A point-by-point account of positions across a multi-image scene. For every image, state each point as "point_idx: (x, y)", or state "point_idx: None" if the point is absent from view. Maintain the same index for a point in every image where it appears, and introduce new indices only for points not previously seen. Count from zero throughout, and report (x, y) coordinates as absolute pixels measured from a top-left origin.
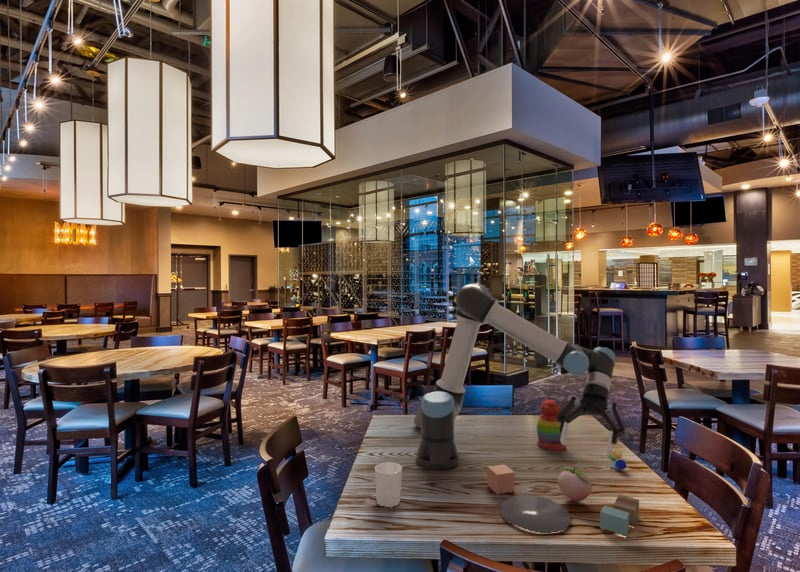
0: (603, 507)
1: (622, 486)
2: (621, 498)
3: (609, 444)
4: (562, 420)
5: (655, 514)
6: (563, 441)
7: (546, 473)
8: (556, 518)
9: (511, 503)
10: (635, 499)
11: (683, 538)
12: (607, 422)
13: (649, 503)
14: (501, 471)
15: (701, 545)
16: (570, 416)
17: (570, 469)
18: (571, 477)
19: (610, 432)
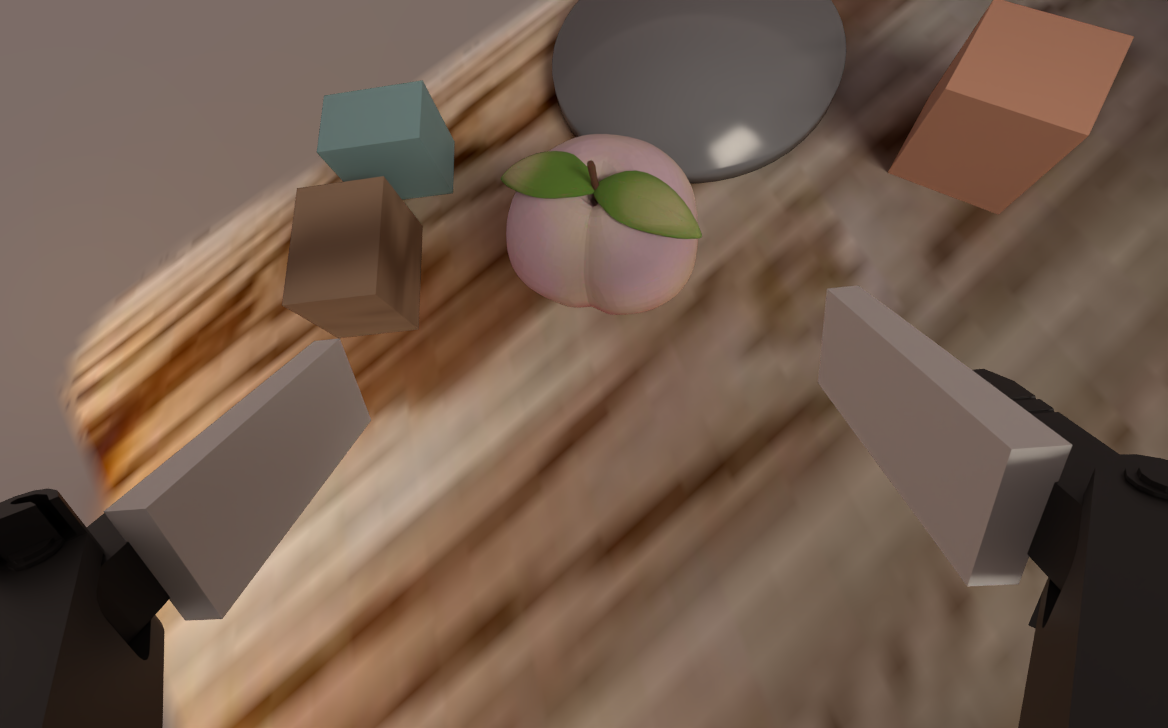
0: (417, 119)
1: (445, 655)
2: (359, 258)
3: (281, 374)
4: (1162, 471)
5: None
6: (827, 336)
7: (900, 511)
8: (600, 63)
9: (805, 32)
10: (298, 295)
11: (191, 294)
12: (64, 705)
13: (301, 519)
14: (1012, 45)
15: (141, 289)
16: (1113, 622)
17: (623, 178)
18: (591, 135)
19: (166, 486)
